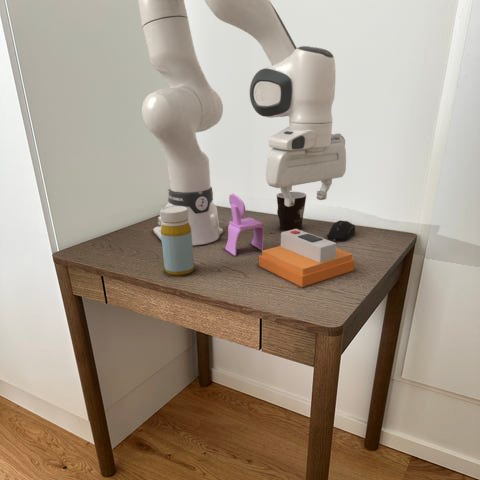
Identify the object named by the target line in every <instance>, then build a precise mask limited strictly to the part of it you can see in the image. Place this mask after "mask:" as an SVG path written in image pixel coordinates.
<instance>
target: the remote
mask: <svg viewBox="0 0 480 480" xmlns="http://www.w3.org/2000/svg"><path fill="white" fill-rule="evenodd" d="M332 241H333V240H330V239H326V238H324V237H321V236H318V235H315V234H312V233H309V232H306V231H304V230H302V229H301V230H298V229H293V230H289V231H281V232H280V246H281V247H283V248H285V249H288V250H290V251H292V252H295V253H297V254H300V255H302V256H304V257H307V258H309V259H312V260H314V261H317V262H319V263H322V262H325V261H328V260H331V259H335V258H336V248H337V246H338V245H337V244H338V243H337V242H336V241H335V242H332Z"/></svg>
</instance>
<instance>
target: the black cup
mask: <svg viewBox="0 0 480 480" xmlns="http://www.w3.org/2000/svg"><path fill="white" fill-rule="evenodd" d="M290 194H291V197H293V198H295V202H294V203H295V205H294V206H290V207H288V206H285V204H284V202H285V197H284V196H283V194H282V192H279V193H277V194H276V203H277V210H276V211H277V212H276V213H277V214H276V215H277V218H278V221H279V229H280V230H281V232H285V231H289V230H293V229H298V230H301V231H302V227H303V221H304V215H305V214H304V213H305V207H306V201H307V193H305V192H301V191H290Z"/></svg>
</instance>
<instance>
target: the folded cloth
mask: <svg viewBox="0 0 480 480" xmlns="http://www.w3.org/2000/svg"><path fill="white" fill-rule="evenodd" d="M355 262H356V260H355V259H353V253H350V252H347V251H344V250H342V249H340V248H337V247H336V258H335V259H331V260H328V261H325V262H322V263H319V262H317V261H314V260H312V259H309V258H307V257H304V256H302V255H300V254H297V253H295V252H292V251H290V250H288V249H285V248H283V247H281V245H278V246H274V247H270V248H267V249H263V250H261V255H259V256H258V266H259V267H261V268H262V269H265V270H267V271H269V272H271V273H272V274H275V275H277V276H279V277H281V278H283V279H285V280H287V281H289V282H290V283H293V284H295V285H296V286H299V287H301V288H304V287H307V286H310V285H314V284H317V283H319V282H322V281H325V280H329V279H331V278H336V277H338V276H341V275H344V274H347V273H350V272H354V271H355V264H356V263H355Z"/></svg>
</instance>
